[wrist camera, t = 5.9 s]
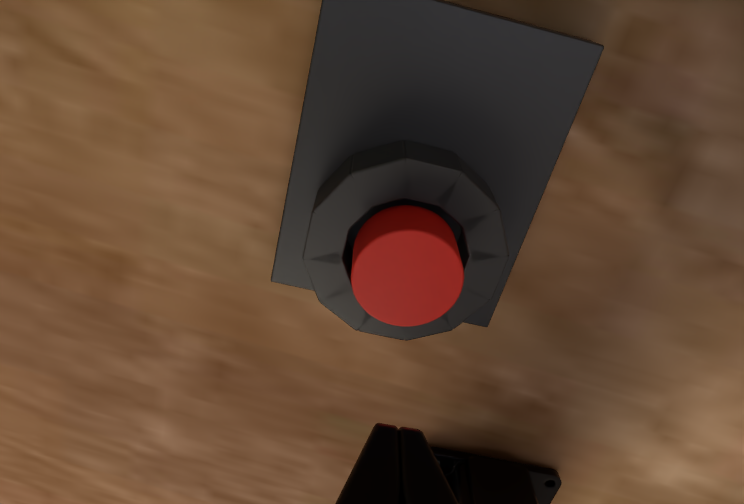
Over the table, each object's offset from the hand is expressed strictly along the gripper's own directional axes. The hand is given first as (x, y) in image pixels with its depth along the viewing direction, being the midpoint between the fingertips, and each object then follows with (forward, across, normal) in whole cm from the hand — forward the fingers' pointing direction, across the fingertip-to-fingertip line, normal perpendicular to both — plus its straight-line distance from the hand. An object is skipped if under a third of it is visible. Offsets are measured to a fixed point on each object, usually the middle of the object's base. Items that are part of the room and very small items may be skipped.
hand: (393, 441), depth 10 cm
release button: (+8, 0, +1) cm, 8 cm away
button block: (+11, 0, -1) cm, 11 cm away
